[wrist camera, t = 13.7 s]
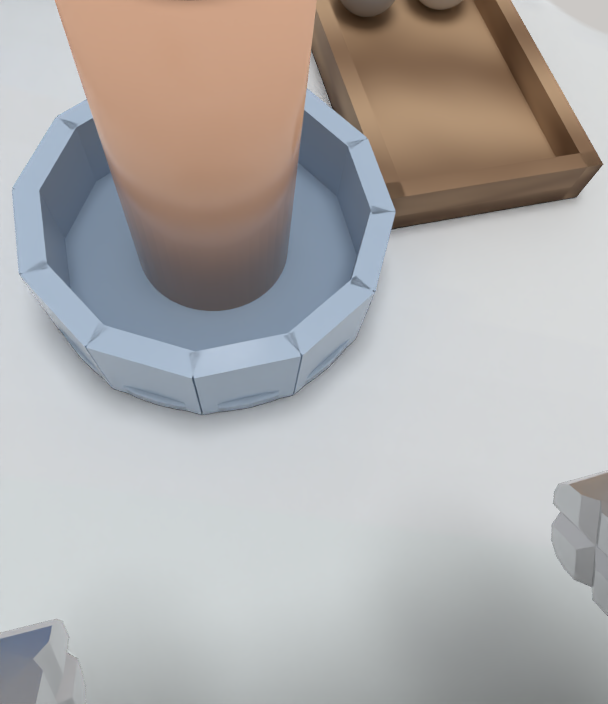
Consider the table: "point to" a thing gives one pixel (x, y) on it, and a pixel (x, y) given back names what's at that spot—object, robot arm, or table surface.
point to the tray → (453, 107)
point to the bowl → (191, 324)
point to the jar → (199, 133)
